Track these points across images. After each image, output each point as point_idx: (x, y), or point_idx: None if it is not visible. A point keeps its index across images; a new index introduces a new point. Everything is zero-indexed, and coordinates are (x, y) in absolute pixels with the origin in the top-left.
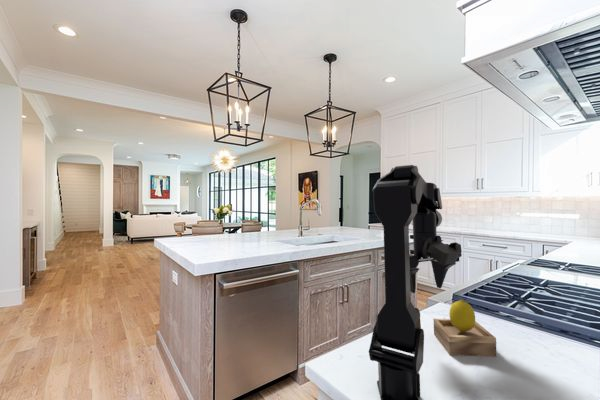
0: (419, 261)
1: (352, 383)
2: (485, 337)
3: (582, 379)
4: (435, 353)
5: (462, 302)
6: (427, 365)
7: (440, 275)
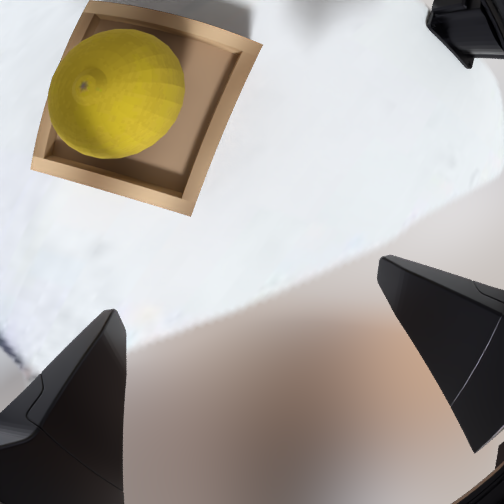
0: (485, 489)
1: (489, 95)
2: (121, 5)
3: None
4: (285, 82)
5: (98, 69)
6: (352, 49)
7: (84, 396)
